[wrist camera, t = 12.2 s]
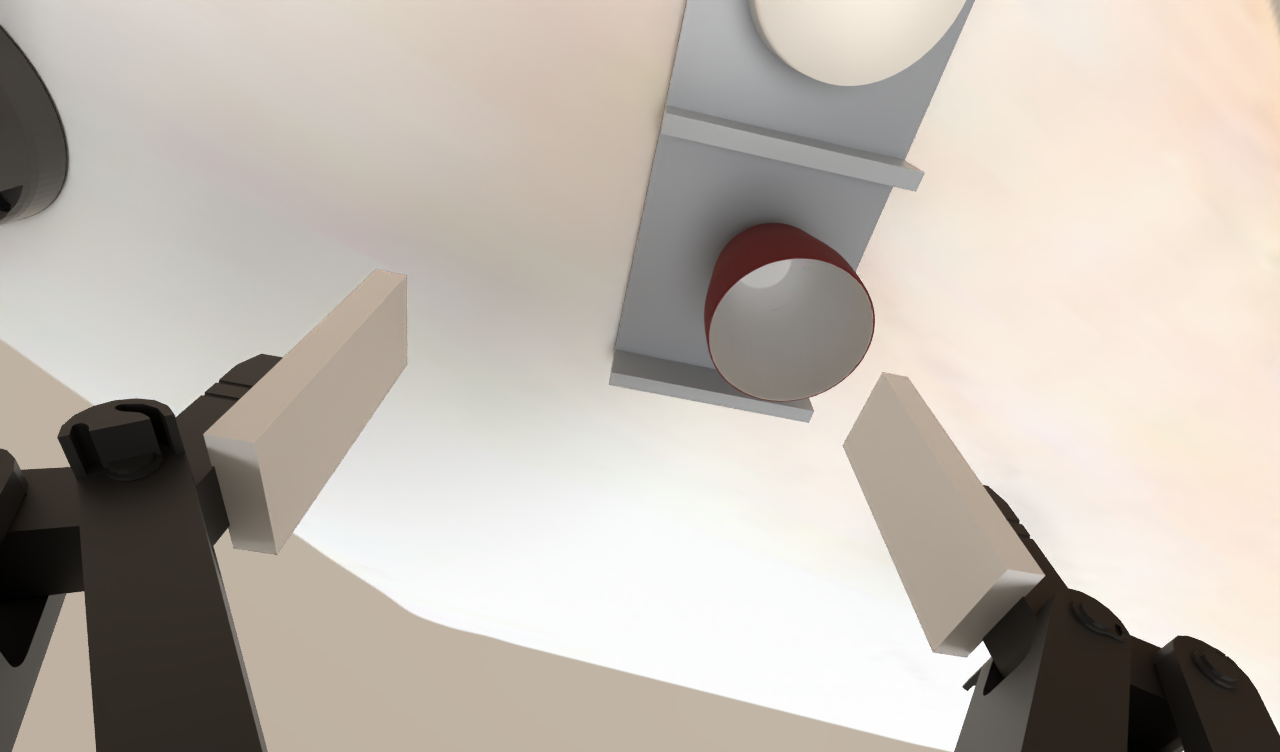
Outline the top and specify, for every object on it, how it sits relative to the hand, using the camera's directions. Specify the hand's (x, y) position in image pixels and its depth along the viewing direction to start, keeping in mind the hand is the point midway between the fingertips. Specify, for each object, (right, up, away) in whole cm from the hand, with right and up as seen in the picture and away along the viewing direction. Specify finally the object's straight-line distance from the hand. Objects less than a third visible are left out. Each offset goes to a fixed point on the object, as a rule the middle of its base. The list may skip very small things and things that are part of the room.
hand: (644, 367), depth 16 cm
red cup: (+8, +6, +21) cm, 23 cm away
